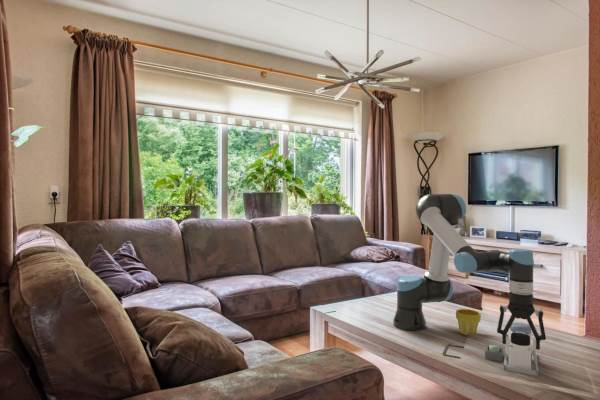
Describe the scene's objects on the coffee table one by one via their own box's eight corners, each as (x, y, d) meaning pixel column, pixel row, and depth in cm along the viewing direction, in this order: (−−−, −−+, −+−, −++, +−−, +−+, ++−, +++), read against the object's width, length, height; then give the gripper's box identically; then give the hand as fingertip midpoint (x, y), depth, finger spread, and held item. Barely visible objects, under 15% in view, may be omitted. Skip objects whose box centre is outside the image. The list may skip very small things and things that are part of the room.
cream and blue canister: (509, 358, 148) (509, 326, 148) (510, 351, 154) (511, 321, 154) (530, 362, 145) (531, 330, 144) (531, 355, 150) (531, 324, 150)
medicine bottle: (531, 373, 136) (531, 338, 136) (508, 368, 140) (508, 335, 139) (531, 365, 142) (531, 332, 142) (509, 361, 146) (509, 328, 146)
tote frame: (442, 355, 154) (442, 354, 154) (447, 344, 166) (447, 343, 166) (477, 361, 148) (477, 360, 148) (479, 350, 159) (479, 349, 159)
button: (488, 355, 149) (488, 347, 149) (489, 351, 152) (489, 344, 152) (499, 356, 147) (499, 348, 147) (499, 353, 150) (499, 345, 150)
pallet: (483, 370, 141) (483, 358, 141) (487, 349, 160) (487, 338, 160) (542, 381, 132) (542, 369, 132) (539, 357, 152) (539, 346, 152)
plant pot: (480, 331, 181) (480, 310, 181) (480, 338, 172) (480, 316, 172) (456, 328, 186) (456, 307, 186) (455, 335, 176) (455, 313, 176)
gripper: (488, 291, 142) (488, 353, 143) (556, 298, 132) (555, 365, 133) (489, 286, 149) (489, 346, 149) (554, 293, 139) (554, 357, 139)
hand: (520, 355), depth 141 cm, fingers open, 8 cm apart
